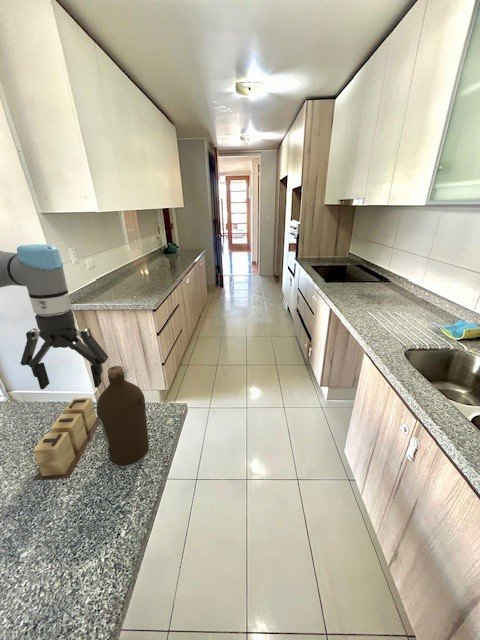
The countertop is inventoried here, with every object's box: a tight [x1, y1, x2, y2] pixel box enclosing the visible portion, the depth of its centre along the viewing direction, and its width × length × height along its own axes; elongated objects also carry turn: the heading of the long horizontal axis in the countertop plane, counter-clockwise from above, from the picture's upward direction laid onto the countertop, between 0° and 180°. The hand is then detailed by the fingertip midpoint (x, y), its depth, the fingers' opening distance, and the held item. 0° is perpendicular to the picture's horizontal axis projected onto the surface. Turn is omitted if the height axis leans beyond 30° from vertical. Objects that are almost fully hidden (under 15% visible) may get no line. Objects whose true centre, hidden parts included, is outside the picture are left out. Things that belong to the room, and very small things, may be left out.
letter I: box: [49, 413, 87, 452], centre depth 67 cm, size 5×5×8 cm
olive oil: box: [96, 365, 150, 467], centre depth 63 cm, size 11×11×25 cm
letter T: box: [32, 432, 75, 476], centre depth 61 cm, size 5×5×8 cm
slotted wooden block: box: [64, 397, 97, 432], centre depth 74 cm, size 5×5×8 cm
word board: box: [32, 416, 100, 482], centre depth 69 cm, size 8×20×1 cm, turn 6°
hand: (72, 385), depth 70 cm, fingers open, 13 cm apart
